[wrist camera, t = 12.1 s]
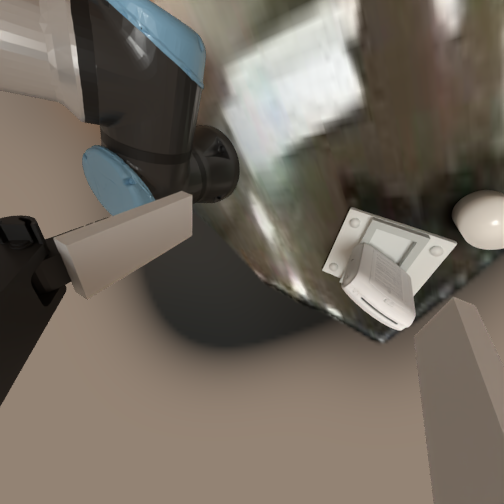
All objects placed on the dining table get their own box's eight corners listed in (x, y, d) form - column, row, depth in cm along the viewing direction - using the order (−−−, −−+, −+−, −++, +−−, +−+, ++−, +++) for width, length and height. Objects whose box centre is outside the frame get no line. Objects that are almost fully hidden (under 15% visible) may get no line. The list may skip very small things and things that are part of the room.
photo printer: (345, 254, 41) (333, 295, 31) (363, 237, 38) (355, 277, 29) (393, 289, 40) (395, 343, 30) (415, 275, 37) (424, 329, 28)
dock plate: (323, 267, 47) (320, 274, 45) (350, 206, 39) (349, 211, 37) (405, 302, 43) (406, 311, 41) (455, 241, 34) (459, 248, 33)
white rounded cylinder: (442, 222, 34) (450, 239, 30) (470, 184, 31) (484, 196, 26) (488, 237, 32) (505, 256, 28) (524, 198, 29) (550, 213, 24)
